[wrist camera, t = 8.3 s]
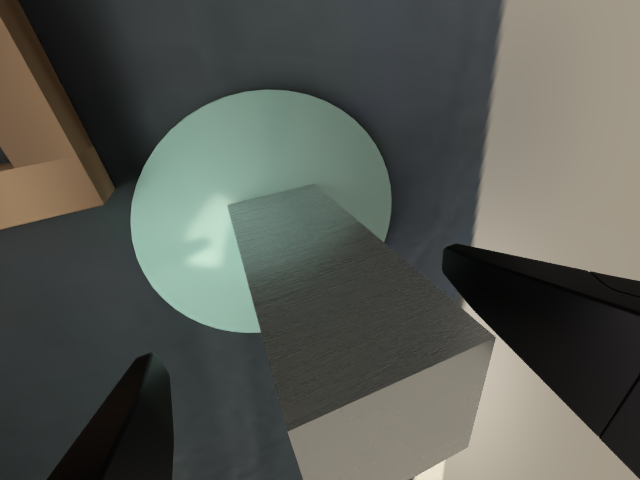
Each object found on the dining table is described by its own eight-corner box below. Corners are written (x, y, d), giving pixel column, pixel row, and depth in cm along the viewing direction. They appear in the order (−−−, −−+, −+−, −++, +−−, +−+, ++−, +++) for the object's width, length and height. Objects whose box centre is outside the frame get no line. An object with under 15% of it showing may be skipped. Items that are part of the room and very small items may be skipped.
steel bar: (314, 183, 12) (495, 337, 5) (324, 255, 14) (467, 447, 7) (227, 204, 12) (287, 431, 4) (249, 278, 13) (319, 529, 6)
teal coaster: (381, 67, 12) (389, 66, 11) (387, 282, 17) (392, 288, 17) (69, 121, 9) (61, 124, 9) (193, 354, 15) (193, 364, 14)
